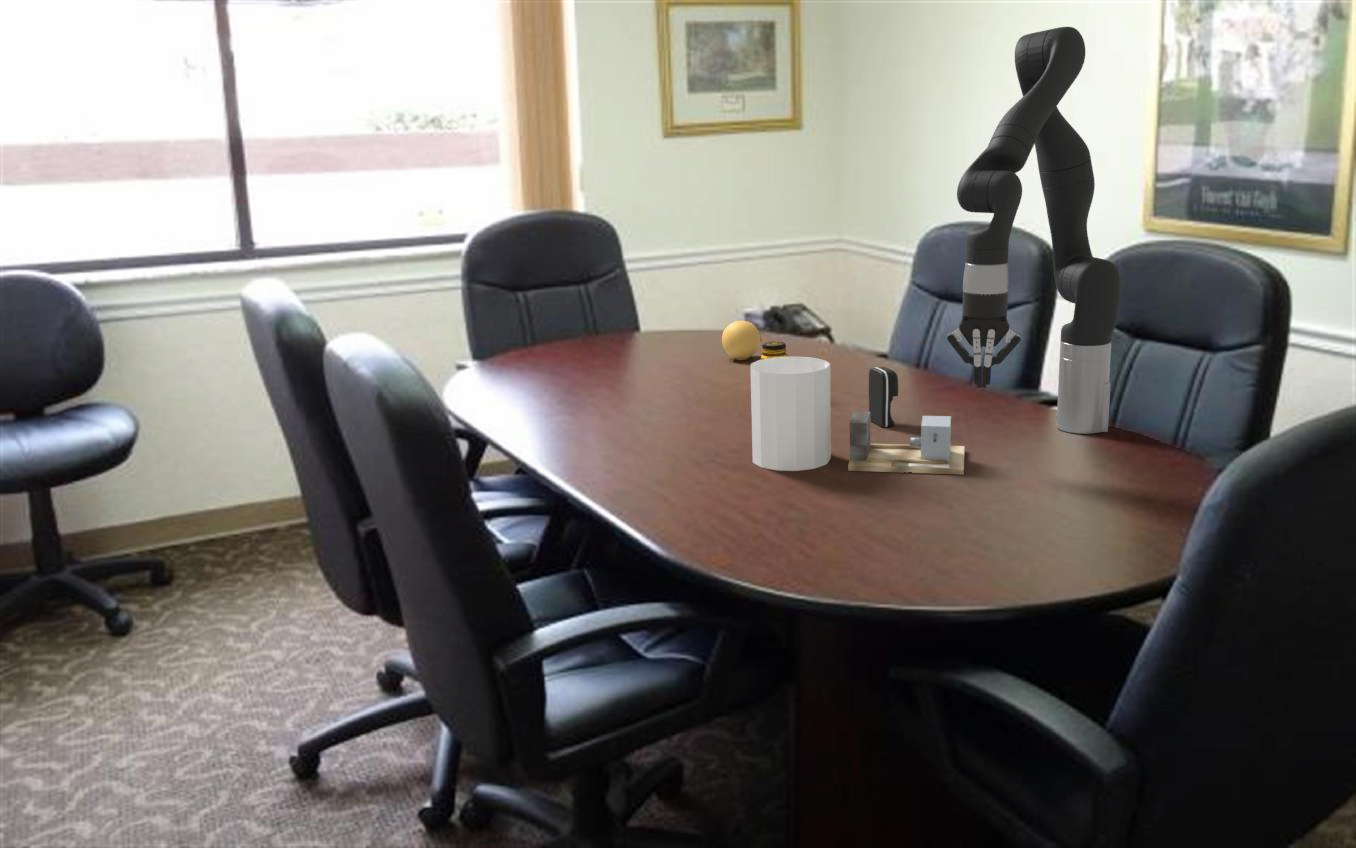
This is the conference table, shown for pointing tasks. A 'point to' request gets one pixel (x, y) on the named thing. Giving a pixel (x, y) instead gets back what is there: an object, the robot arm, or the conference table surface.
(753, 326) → the stress ball
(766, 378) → the container
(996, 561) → the conference table surface
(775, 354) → the condiment
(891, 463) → the wooden sliding jig
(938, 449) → the block
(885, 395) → the battery charger
